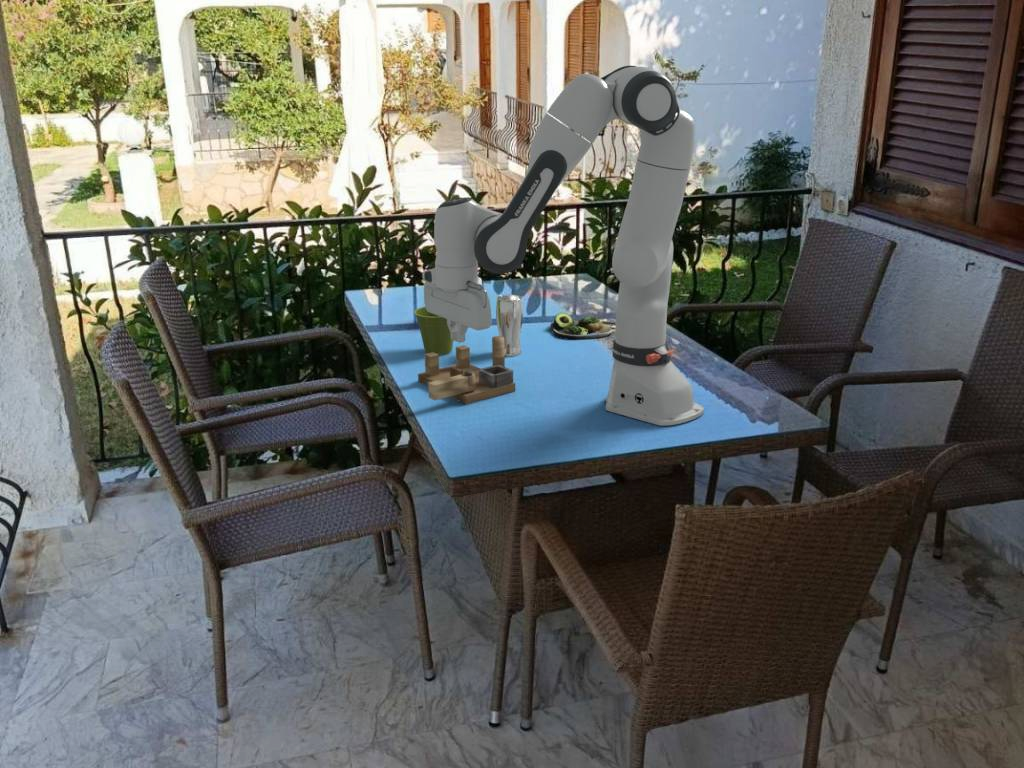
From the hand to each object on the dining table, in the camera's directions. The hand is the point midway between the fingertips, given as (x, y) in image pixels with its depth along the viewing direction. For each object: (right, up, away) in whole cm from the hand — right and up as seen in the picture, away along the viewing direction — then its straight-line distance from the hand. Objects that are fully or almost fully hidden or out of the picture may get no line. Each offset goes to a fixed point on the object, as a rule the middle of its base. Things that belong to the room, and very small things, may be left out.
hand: (458, 340), depth 197 cm
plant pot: (-8, -1, +48) cm, 49 cm away
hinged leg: (-2, -11, +11) cm, 16 cm away
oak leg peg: (+8, -6, +31) cm, 33 cm away
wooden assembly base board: (+1, -10, +22) cm, 24 cm away
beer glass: (+11, -1, +46) cm, 48 cm away
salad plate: (+30, +5, +66) cm, 73 cm away
